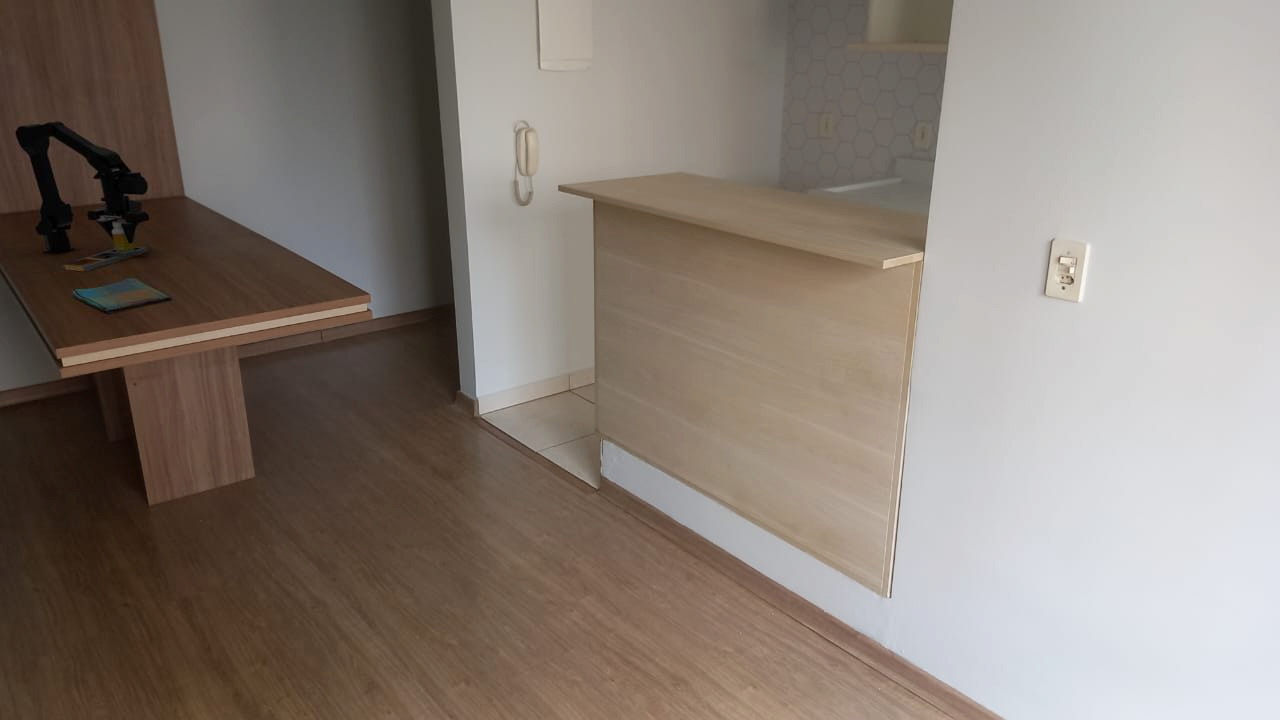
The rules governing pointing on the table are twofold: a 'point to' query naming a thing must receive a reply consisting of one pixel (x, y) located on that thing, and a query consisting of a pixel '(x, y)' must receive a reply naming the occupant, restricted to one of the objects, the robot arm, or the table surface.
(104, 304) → the dish towel
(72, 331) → the table surface
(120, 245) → the supplement bottle
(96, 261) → the divided tray
